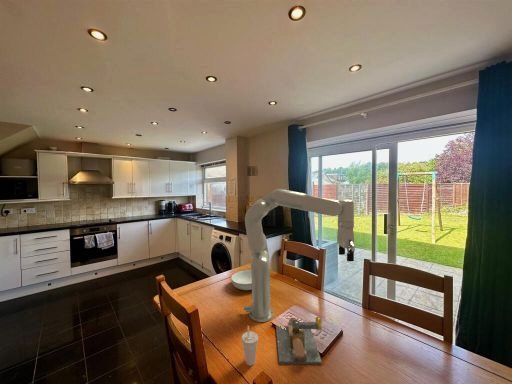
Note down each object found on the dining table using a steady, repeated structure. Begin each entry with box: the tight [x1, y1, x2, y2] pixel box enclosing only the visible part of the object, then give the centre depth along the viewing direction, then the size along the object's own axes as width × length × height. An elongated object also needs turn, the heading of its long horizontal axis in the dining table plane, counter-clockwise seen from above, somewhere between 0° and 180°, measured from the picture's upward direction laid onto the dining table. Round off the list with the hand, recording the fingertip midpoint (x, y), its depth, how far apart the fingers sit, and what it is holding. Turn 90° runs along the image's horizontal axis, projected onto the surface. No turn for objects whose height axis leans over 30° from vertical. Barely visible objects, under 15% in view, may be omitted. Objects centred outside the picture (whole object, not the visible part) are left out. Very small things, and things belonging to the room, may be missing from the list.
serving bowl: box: [230, 269, 252, 291], centre depth 140 cm, size 21×21×7 cm
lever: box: [292, 316, 323, 332], centre depth 88 cm, size 12×3×5 cm, turn 88°
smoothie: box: [241, 325, 259, 366], centre depth 80 cm, size 6×6×14 cm
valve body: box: [275, 317, 323, 365], centre depth 89 cm, size 16×20×6 cm
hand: (345, 257), depth 106 cm, fingers open, 9 cm apart
